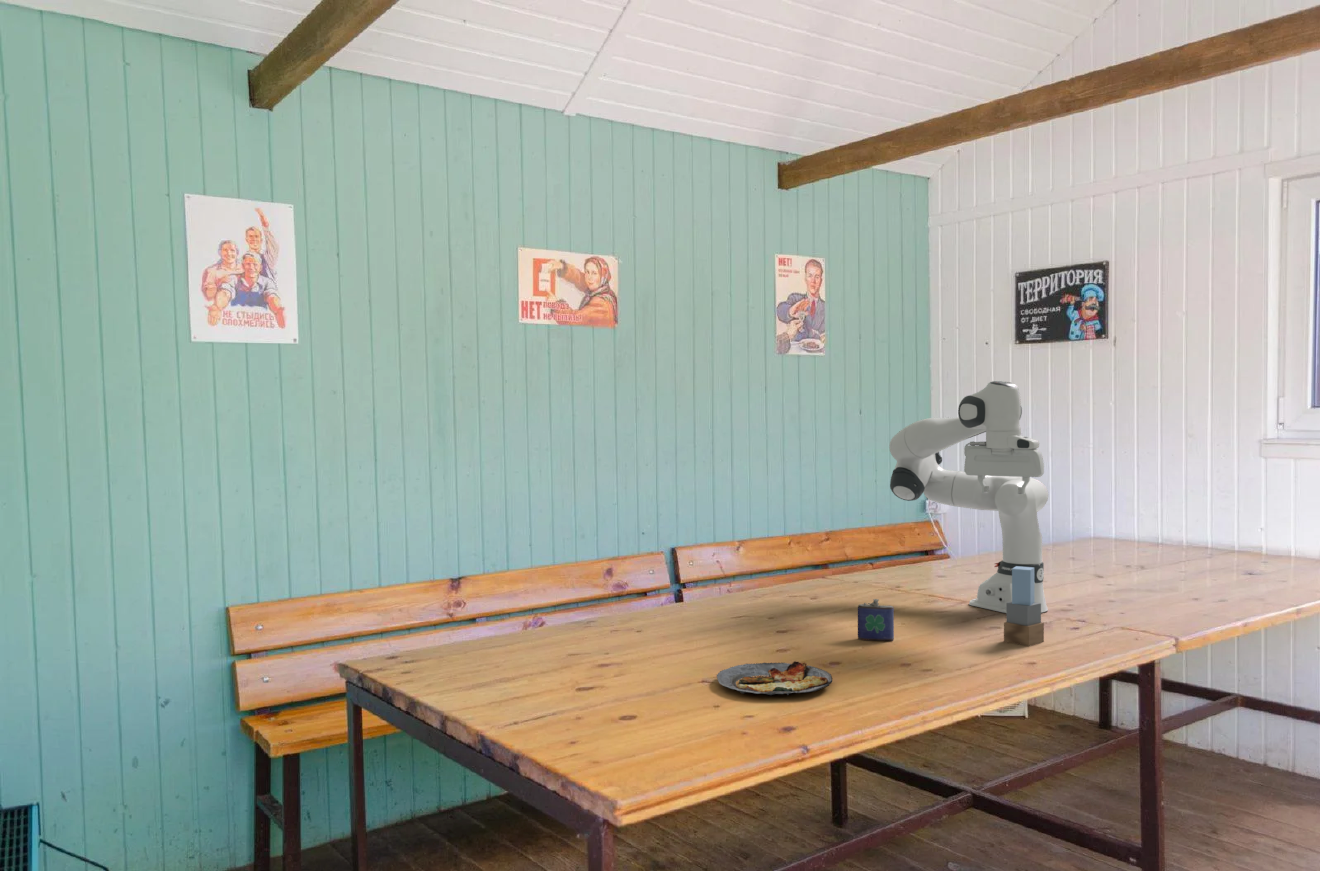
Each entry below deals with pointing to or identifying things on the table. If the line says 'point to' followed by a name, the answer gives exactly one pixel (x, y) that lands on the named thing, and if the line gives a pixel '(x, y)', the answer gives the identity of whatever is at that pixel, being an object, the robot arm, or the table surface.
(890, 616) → the flask
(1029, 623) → the tower middle
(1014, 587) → the pillar
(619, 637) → the table surface
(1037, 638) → the tower base
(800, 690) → the food plate
